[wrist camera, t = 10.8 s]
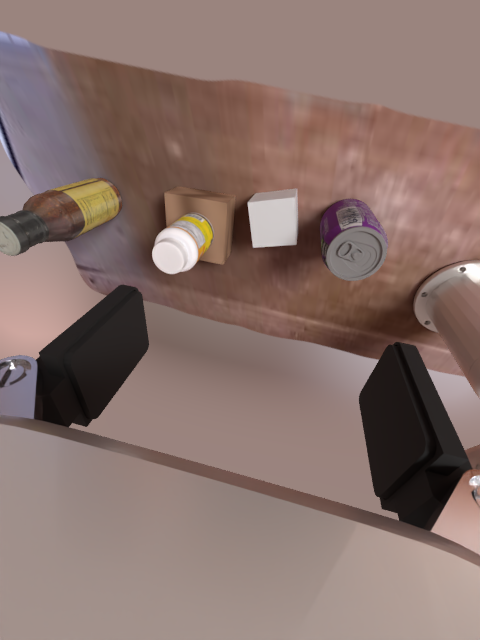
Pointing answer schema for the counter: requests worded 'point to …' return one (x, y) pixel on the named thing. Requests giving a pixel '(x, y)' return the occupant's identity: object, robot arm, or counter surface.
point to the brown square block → (210, 206)
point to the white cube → (274, 218)
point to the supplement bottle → (182, 243)
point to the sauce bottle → (59, 215)
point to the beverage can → (352, 240)
